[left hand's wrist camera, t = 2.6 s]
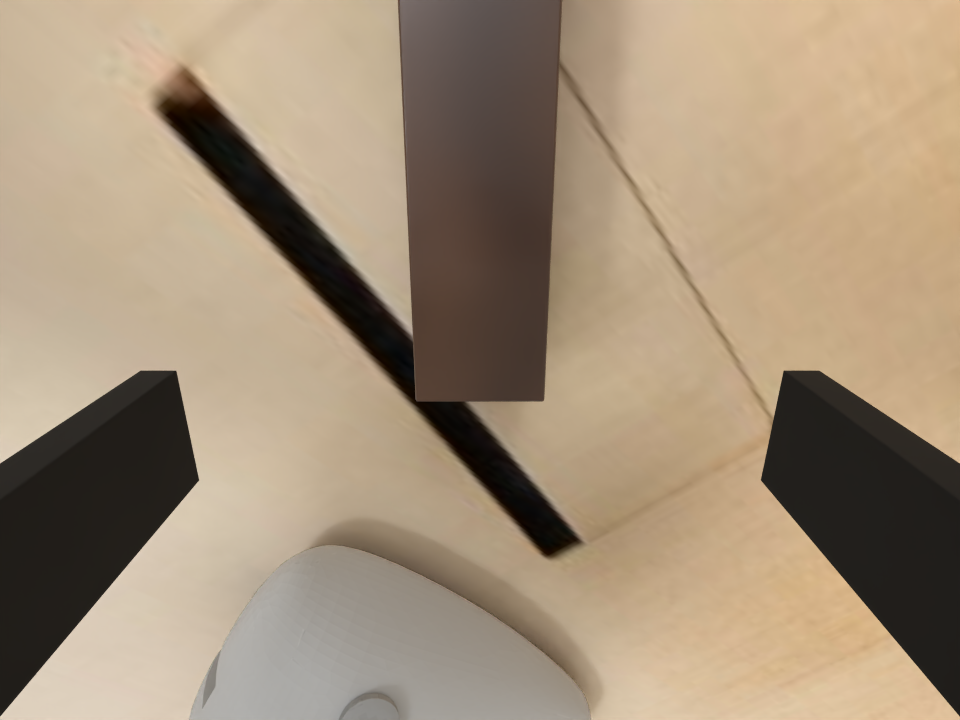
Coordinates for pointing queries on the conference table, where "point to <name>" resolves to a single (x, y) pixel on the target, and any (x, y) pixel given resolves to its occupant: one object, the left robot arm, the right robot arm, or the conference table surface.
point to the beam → (479, 192)
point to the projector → (376, 651)
